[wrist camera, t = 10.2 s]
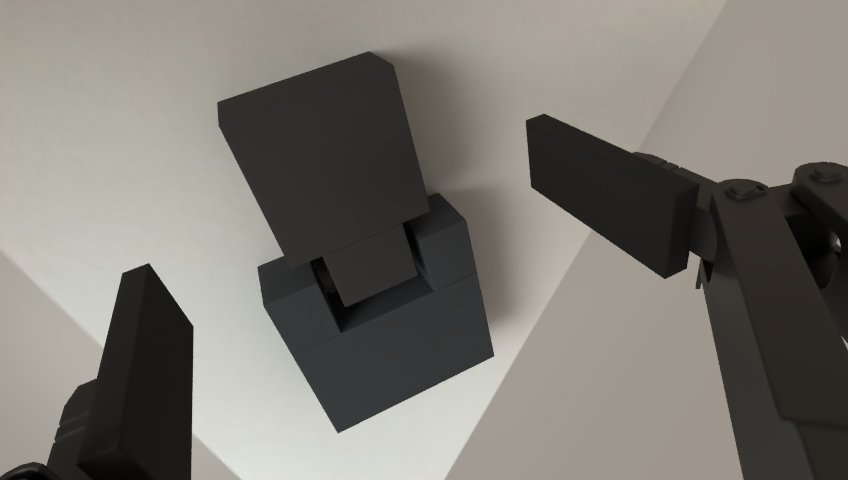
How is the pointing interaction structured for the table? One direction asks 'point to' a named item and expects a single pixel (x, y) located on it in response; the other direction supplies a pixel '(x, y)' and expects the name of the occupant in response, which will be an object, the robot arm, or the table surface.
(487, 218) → the table surface
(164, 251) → the table surface
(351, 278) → the tongue pad
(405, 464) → the table surface
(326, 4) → the table surface
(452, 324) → the notch pad
